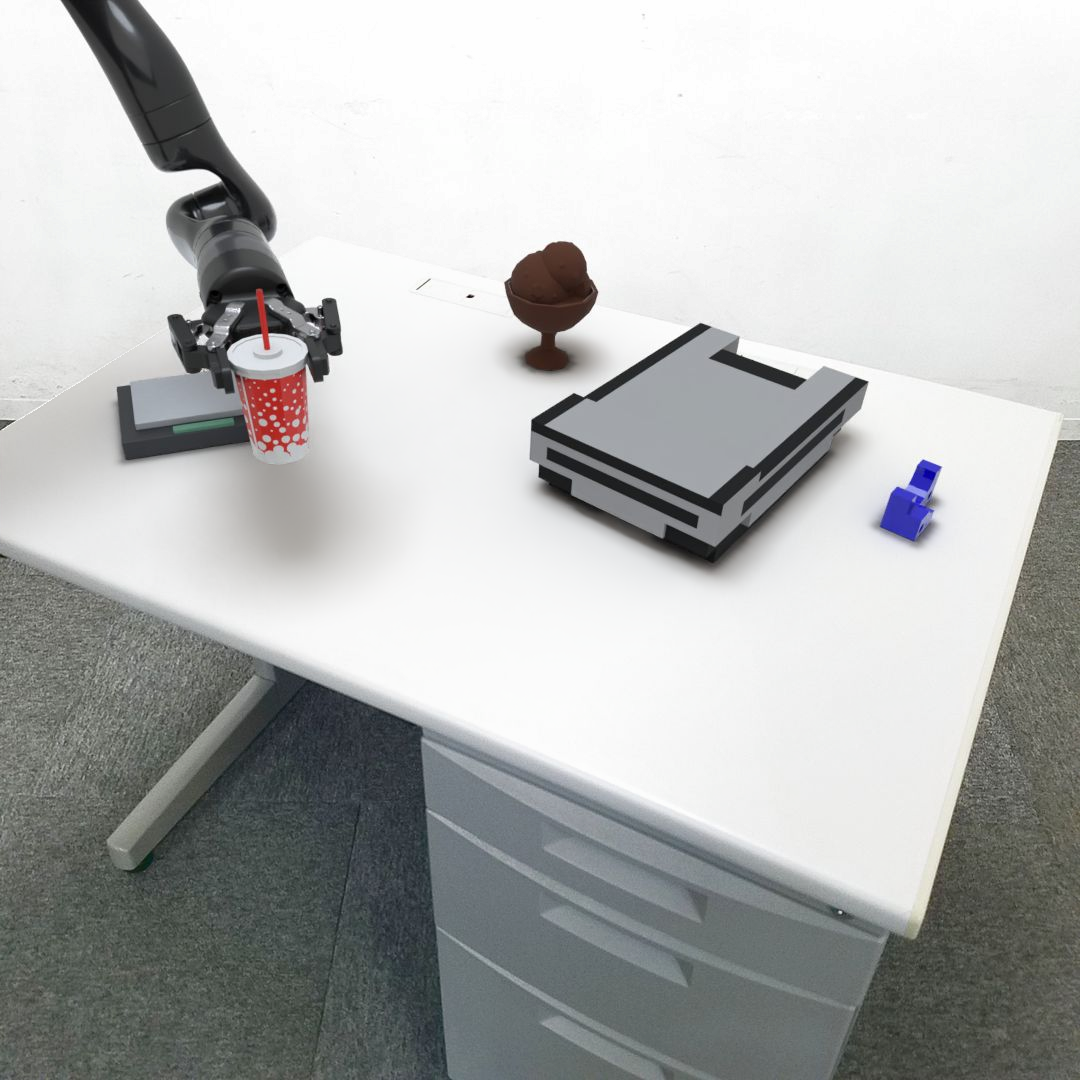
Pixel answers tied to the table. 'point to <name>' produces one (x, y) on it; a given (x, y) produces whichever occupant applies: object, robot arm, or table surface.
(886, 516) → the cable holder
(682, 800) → the table surface
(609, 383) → the game console
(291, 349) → the beverage cup
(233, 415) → the scale
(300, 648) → the table surface
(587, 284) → the ice cream bowl
